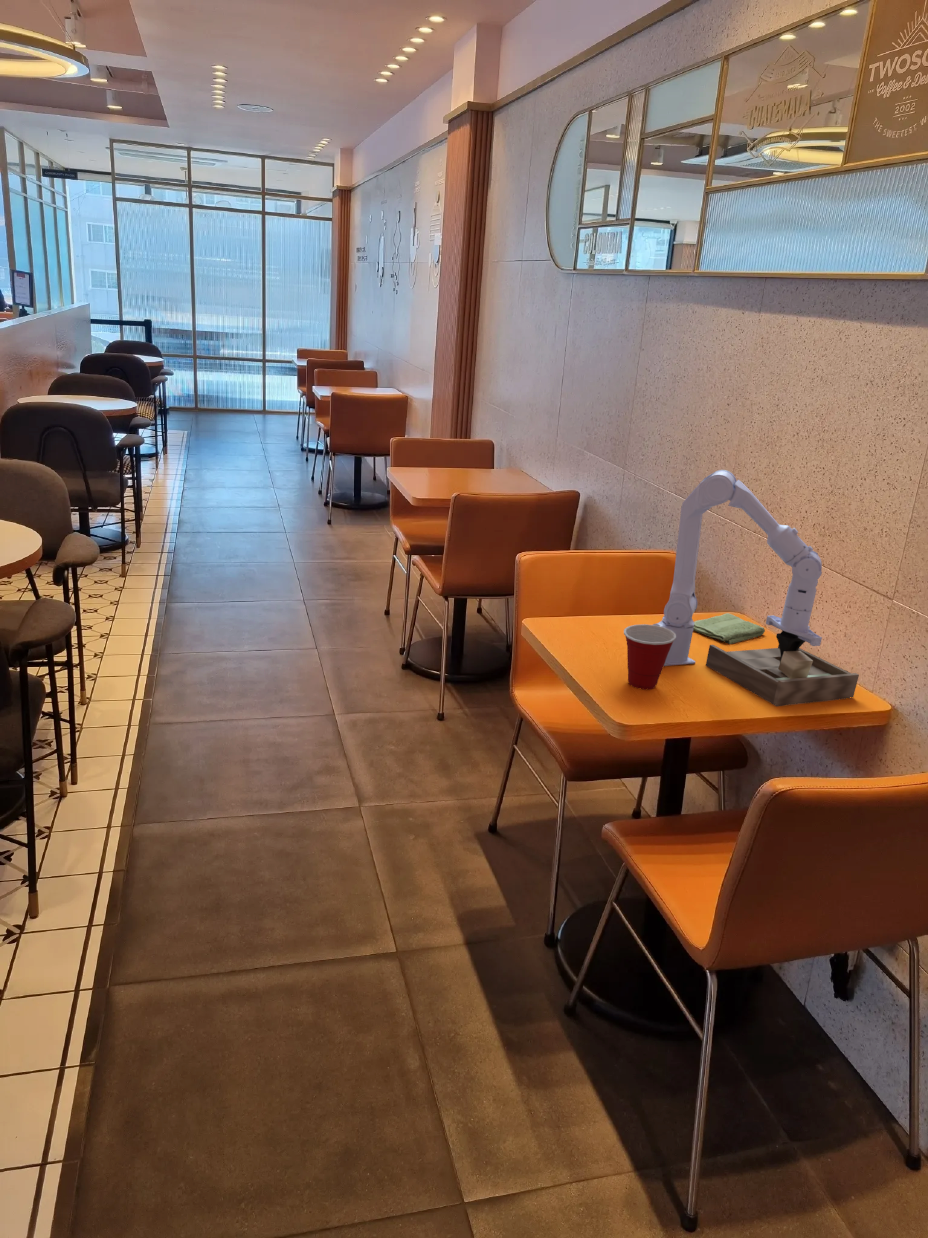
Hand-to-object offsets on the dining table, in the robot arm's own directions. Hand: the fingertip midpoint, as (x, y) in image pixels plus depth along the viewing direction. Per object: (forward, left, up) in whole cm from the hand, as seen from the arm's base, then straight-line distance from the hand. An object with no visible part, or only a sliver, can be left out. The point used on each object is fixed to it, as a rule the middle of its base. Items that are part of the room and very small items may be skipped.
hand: (785, 665), depth 199 cm
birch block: (0, -3, -1) cm, 3 cm away
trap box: (0, +2, -4) cm, 4 cm away
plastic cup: (-34, +6, -4) cm, 35 cm away
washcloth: (+11, +31, -5) cm, 34 cm away
